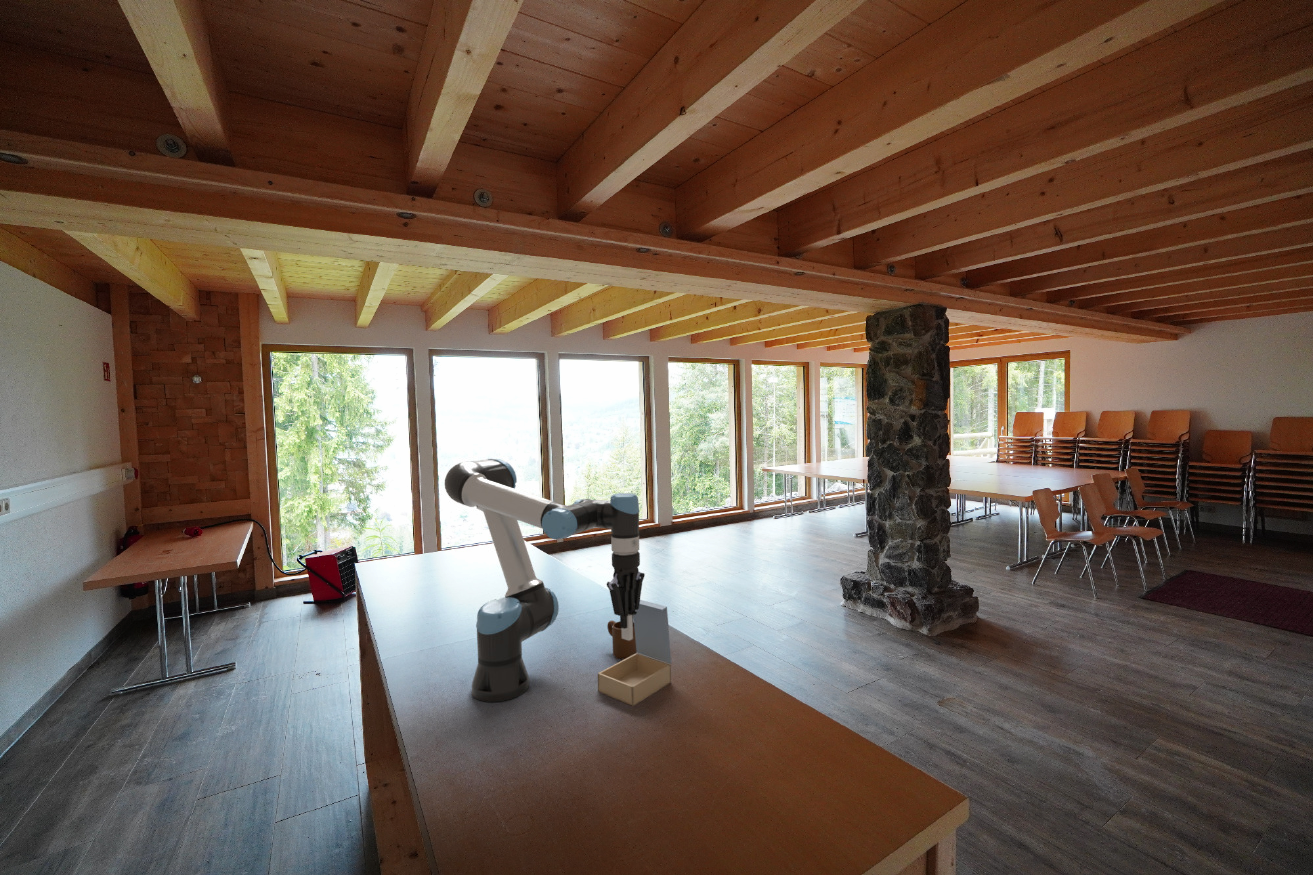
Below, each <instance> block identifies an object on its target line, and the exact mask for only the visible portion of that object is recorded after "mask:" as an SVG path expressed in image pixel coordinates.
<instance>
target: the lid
mask: <svg viewBox="0 0 1313 875" xmlns="http://www.w3.org/2000/svg"><path fill="white" fill-rule="evenodd" d="M635 611H636V612H637V613H636V615H634V614H633V618H634V628H635V639H636V650H637V654H640V655H643V656H646V657H649V658H652V659H655V660H658V661H661V662H664V663H667V664H670V665H672V663H673V662H672V652H671V639H670V629H669V627H670V626H669V614H668V606H666V605H662V604H657V603H654V602H650V601H646V600H642V599H640V604H639V609H638V610H635Z"/></svg>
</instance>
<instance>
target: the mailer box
mask: <svg viewBox="0 0 1313 875" xmlns="http://www.w3.org/2000/svg"><path fill="white" fill-rule="evenodd" d="M671 668H672V664H670V663H667V662H664V661H661V660H658V659H655V658H652V657H649V656H646V655H643V654H640V653H636V654H634V655H632V656H630V657H628V658H626V659H621V661H619V662H616V663H614V664H613V665H611V666H609V667H607V668H605V669H604V670H602V671H599V672H597V692H598V693H600V694H602V695H605V696H607V697H610V698H613V699H615V700H617V701H619V702H622V703H623V704H627V705H629V706H631V707H635V706H637V705H638V704H639V703H641V702H642V701H644V700H645V699H647V698H649V697H650V696H652V695H653V694H655V693H657V692H658V691H660V690H661V689H663V688H664V687H666V686H668V685H669V684H671V683H672V680H671V679H672V670H671Z"/></svg>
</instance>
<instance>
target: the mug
mask: <svg viewBox="0 0 1313 875" xmlns="http://www.w3.org/2000/svg"><path fill="white" fill-rule="evenodd" d="M606 629H607V631H608V634H609V635H610V636H611V637H612V638H611V639H612V640H611V641H612V654H613V657H615V658H616V659H619V660H624V659H626V658H628V657H630V656H632V655H634V654H636V653H637V650H636V639H635V628H634V623H633V639H632V640H630V641H629V640H625V639H622V628H621V626H620V621H617V622H616V621H615V620H609V621H608V622H607V628H606ZM637 654H638V653H637Z"/></svg>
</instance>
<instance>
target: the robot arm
mask: <svg viewBox="0 0 1313 875" xmlns="http://www.w3.org/2000/svg"><path fill="white" fill-rule="evenodd" d="M517 482H518V480H517V473H516V471H515V469H514V467H513V466H512V465H511V464H510V463H509V462H508V461H506V460H503V459H500V458H498V459H497V458H496V459H495V458H487V459H480V460H473V461H462V462H460V463H457V464H454V466H452V467H451V468H450V469H449V470H448V471H447V473H446V476H445V479H444V489H445V491H446V494H447V495H448V497H449V498H450V499H451V500H453V502H456V503H458V504H461V505H463V506H466V507H469V508H474V507H476V509H477V510H479V511H481V512H482V513H483V515H484V518H485V520H486V523H487V527H488V530H489V534H490V536H491V540H492V543H493V546H494V548H495V551H496V555H497V557H498V561H499V564H500V568H501V571H502V574H503V577H504V579H505V583H506V586H507V591H506V592H505V594H504V597H500V598H498V599H497V598H496V599H492V600H490V601H487V602H486V603H485V604H483V605H482V606H481V607H480V608H479V609H478V611H477V614H476V616H477V617H476V624H475V626H476V638H477V642H476V643H477V666H476V670H475V673H474V676H473V679H472V682H471V694H472V696H473V698H475V699H476V700H478V701H480V702H481V701H482V702H487V703H488V702H489V703H491V702H493V703H495V702H505V701H509V700H511V699H515V698H517V697H519V696H521V695H523V694H524V693H525V692H526V691H527V690H528V688H529V686H530V676H529V673H528V670H527V667H526V665H525V662H524V659H523V653H522V652H523V646H522V644H523V642H524V641H526V640H527V639H529V638H531V637H533V636H535V635H537V634H538V633H540V632H543V631H545V630H547V628H549V627H550V626H551V625H553V624H554V622H555V621H556V619H557V617H558V615H559V611H560V610H559V609H560V608H559V606H560V605H559V601H558V598H557V596H556V594H555V592H554V591H551V588H548V587H545V586H546V585H545V584H544V581H543V580H541V579H539V578H538V577H537V576H536V573H535V570H534V567H533V565H532V564H533V563H532V561H531V558H530V555H529V552H528V549H527V546H526V543H525V539H524V536H523V533H522V530H521V528H520V525H519V522H522V523H524V524H528V525H530V526H533V527H537V528H539V529H541V530H542V531H543V532H544V534H545V535H546V536H547V537H548V538H550V539H552V540H560V539H567V538H569V537H571V536H574V535H577V534H579V533H583V532H586V531H588V530H591V529H595V528H597V529H598V528H599V529H610V534H611V535H610V536H611V537H610V538H611V539H610V540H611V545H610V546H611V548H610V549H611V551H612V553H611V566H612V569H614V570H613V575H612V577H613V578H612V580H610V581H607V582H606V587H607V588H608V591H609V596H610V599H611V600H610V601H611V605H612V609H613V615H614V616H615V615H616V616H618V617H619V618H620V619H619V622H620V626H621V628H622V639H625V640H629V641H630V640H632V639H633V623H634V616H633V614H634V615H636V613H637V612H636V611H635V610H638V609H639V604H640V600H641V596H642V589H643V588H642V587H643V581H644V579H645V574H646V573H644V572H641V571H639V570H640V569H639V566H640V564H641V555H640V552H639V551H640V506H639V497H638V495H636V494H635V493H630V492H628V493H627V492H626V493H624V492H623V493H621V492H620V493H615V494H612V495H611V496H610V500H602V499H601V500H600V499H590V498H583V499H580V498H579V499H576V500H575V501H574V502H573V503H572V504H570V505H564V504H563V503H562V504H561V503H558V502H556V501H553V500H550V499H547V498H543V497H541V496H538V495H534V494H532V493H528V492H525V491H522V490H519V489H517V488H516V487H517V486H516V483H517Z"/></svg>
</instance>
